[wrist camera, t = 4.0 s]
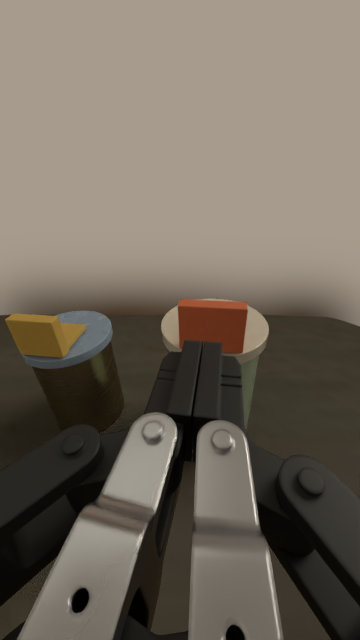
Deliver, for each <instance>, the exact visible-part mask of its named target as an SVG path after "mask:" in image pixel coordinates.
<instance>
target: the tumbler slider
mask: <svg viewBox="0 0 360 640" xmlns="http://www.w3.org/2000/svg"><path fill="white" fill-rule="evenodd" d="M5 321H6V323H7V325H8V328H9V330H10V332H11V334H12V336H13V338H14V340H15V342H16V344H17V347H18V349H19V351H20V353H21V354H24V355H36V356H47V357H58V358H64V357H65V356H66V354H67V353H68V352H69V348H70V347H71V346H72V345H73V344H74V342H75V341H76V340H77V339H78V338H79V337H80V335H81V334H82V333H83V332H84V331H85V330H86V326H85V325H84V324H68V323H60V321H59V318H58V316H44V315H28V314H27V315H26V314H12V315H11V316H9V317H8V318H7V319H5Z"/></svg>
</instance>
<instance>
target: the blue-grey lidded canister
mask: <svg viewBox="0 0 360 640" xmlns="http://www.w3.org/2000/svg"><path fill="white" fill-rule="evenodd" d="M55 316H58V318H59V321H60V323H68V324H84V325H85V326H86V330H85V331H84V332H83V333H82V334H81V335H80V337H79V338H78V339H77V340H76V341H75V342H74V344H73V345H72V346H71V347H70V348H69V352H68V353H67V354H66V356H65V357H64V358H58V357H47V356H36V355H24V354H21V353H20V354H21V357H22V359H23V360H24V361H25V362H26V363H27V364H29V365H31V366H32V368H33V370H34V372H35V374H36V377H37V379H38V381H39V383H40V385H41V388H42V390H43V392H44V394H45V396H46V398H47V401H48V403H49V405H50V407H51V409H52V412H53V414H54V416H55V418H56V420H57V422H58V425H59V427H60V428H61V429H62V430H63V431H64V430H65V429H67V428H69V427H72V426H75V425H80V424H86V425H90V426H93V427H94V428H95V429H96V430H97V431H98V433H99V432H101V431H103V430H104V429H106V428H108V427H109V426H110V425H111V424H113V423H114V422H115V420H116V419H117V418H118V417H119V415H120V413H121V412H122V409H123V405H124V398H123V394H122V389H121V385H120V380H119V376H118V371H117V367H116V362H115V358H114V353H113V349H112V345H111V338H112V334H113V331H112V326H111V322H110V320H109V319H108V318H107V317H106V316H104V315H103V314H100V313H97V312H92V311H74V312H67V313H63V314H59V315H55ZM18 350H19V349H18ZM19 352H20V351H19Z"/></svg>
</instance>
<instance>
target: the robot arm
mask: <svg viewBox="0 0 360 640" xmlns="http://www.w3.org/2000/svg"><path fill="white" fill-rule="evenodd" d="M192 452H193V462H196V471H195V496H194V521H193V534H192V556H191V580H190V604H189V629H188V631H186V632H180V633H174V634H167V635H156V634H154V633H152V632H151V627H152V622H153V618H154V613H155V609H156V604H157V599H158V595H159V589H160V583H161V577H162V567H163V560H164V555H165V550H166V546H167V542H168V537H169V533H170V528H171V524H172V520H173V515H174V511H175V506H176V502H177V498H178V493H179V489H180V482H181V478H182V472H183V465H184V461H190V462H191V460H192ZM266 540H267V541H266ZM267 542H268V544H269V546H270V547H271V549H272V551H273V552H274V554H275V555H276V557H277V558H278V560H279V561H280V563H281V564H282V566H283V567H284V569H285V570H286V572H287V573H288V575H289V576H290V578H291V579H292V581H293V582H294V584H295V585H296V587H297V588H298V590H299V591H300V593H301V594H302V596H303V597H304V599H305V600H306V602H307V603H308V605H309V606H310V608H311V609H312V611H313V612H314V614H315V615H316V617H317V619H318V620H319V622H320V623H321V625H322V626H323V628H324V629H325V631H326V632H327V634H328V635H329V637H330V638H331V640H360V498H359V497H358V496H357V495H356V494H355V493H353V492H352V491H351V490H350V489H349V488H348V487H347V486H346V485H345V484H344V483H343V482H342V481H341V480H340V479H339V478H338V477H337V476H336V475H335V474H334V473H333V472H332V471H331V470H330V469H329V468H328V467H326V466H325V465H324V464H323V463H321V462H320V461H318V460H316V459H314V458H312V457H309V456H305V455H293V456H290V457H288V458H286V459H285V460H284V459H282V458H280V457H278V456H275V455H273V454H271V453H269V452H267V451H265V450H263V449H261V448H260V447H258V446H257V445H256V444H255V443H254V442H253V441H252V440H251V439H250V437H249V436H248V434H247V432H246V429H245V426H244V411H243V391H242V372H241V365H240V363H239V362H238V360H237V359H236V357H235V356H224V355H222V342H210V341H204V345H203V341H195V340H184V344H183V348H182V351H181V352H175V351H171V352H170V353H169V354H168V355H167V356H166V357H165V358H164V359H163V360H162V363H161V366H160V370H159V372H158V375H157V379H156V381H155V384H154V387H153V390H152V393H151V396H150V398H149V401H148V404H147V407H146V410H145V413H144V415H143V416H141V417H140V418H138V419H137V420H136V421H135V422H134V423H133V425H132V426H131V427H130V428H128V429H126V430H123V431H119V432H113V433H107V434H102V435H99V433H98V431H97V430H96V429H95V428H94V427H93V426H90V425H86V424H80V425H75V426H72V427H69V428H67V429H65V430H64V431H62V432H61V433H59V434H57V435H56V436H54V437H53V438H51V439H49V440H48V441H46V442H44V443H43V444H41V445H40V446H38V447H36V448H35V449H33V450H32V451H30V452H28V453H27V454H25V455H24V456H22V457H20V458H19V459H17V460H15V461H14V462H12V463H11V464H9V465H7V466H6V467H4V468H3V469H1V470H0V606H2V605H3V604H4V603H5V602H6V601H7V600H8V599H9V598H11V597H12V596H13V595H14V594H15V593H16V592H17V591H18V590H20V589H21V588H22V587H23V586H24V585H25V584H26V583H27V582H29V581H30V580H31V579H32V578H33V577H34V576H35V575H36V574H38V573H39V572H40V571H41V570H42V569H43V568H44V567H46V566H47V565H48V564H49V563H50V562H51V561H52V560H53V559H55V558H56V557H57V556H58V557H57V559H56V561H55V563H54V565H53V567H52V569H51V571H50V573H49V575H48V577H47V579H46V581H45V583H44V585H43V587H42V589H41V591H40V593H39V595H38V598H37V600H36V602H35V604H34V606H33V608H32V610H31V612H30V614H29V616H28V618H27V620H26V621H25V622H23V623H22V624H20V625H19V626H18V627H17V628H15V629H14V630H13V631H12V632H10V633H9V634H8V635H7V636H6V637H5V638H4V639H3V640H284V639H283V632H282V626H281V620H280V613H279V607H278V601H277V595H276V588H275V582H274V576H273V569H272V563H271V557H270V552H269V548H268V544H267Z"/></svg>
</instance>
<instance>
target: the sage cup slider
mask: <svg viewBox="0 0 360 640" xmlns="http://www.w3.org/2000/svg"><path fill="white" fill-rule="evenodd" d="M247 314H248V305H247V302H231V301H209V300H185V299H181V300H180V301H179V304H178V323H179V345H180V349H182V348H183V344H184V340H195V341H203V345H204V341H210V342H222V352H231V353H243V347H244V339H245V331H246V322H247Z"/></svg>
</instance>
